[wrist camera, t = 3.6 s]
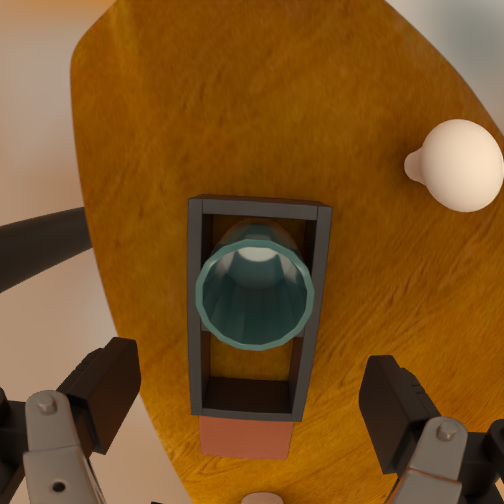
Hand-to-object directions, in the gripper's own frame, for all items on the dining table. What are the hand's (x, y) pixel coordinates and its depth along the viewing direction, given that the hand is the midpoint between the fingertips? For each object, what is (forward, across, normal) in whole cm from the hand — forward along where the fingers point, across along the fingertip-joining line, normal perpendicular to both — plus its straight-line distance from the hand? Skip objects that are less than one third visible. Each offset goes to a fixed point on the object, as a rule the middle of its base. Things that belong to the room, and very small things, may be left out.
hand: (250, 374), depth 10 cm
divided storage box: (+17, 0, +4) cm, 18 cm away
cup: (+17, 0, 0) cm, 17 cm away
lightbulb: (+18, -13, -9) cm, 23 cm away
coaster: (+17, 0, +19) cm, 26 cm away
